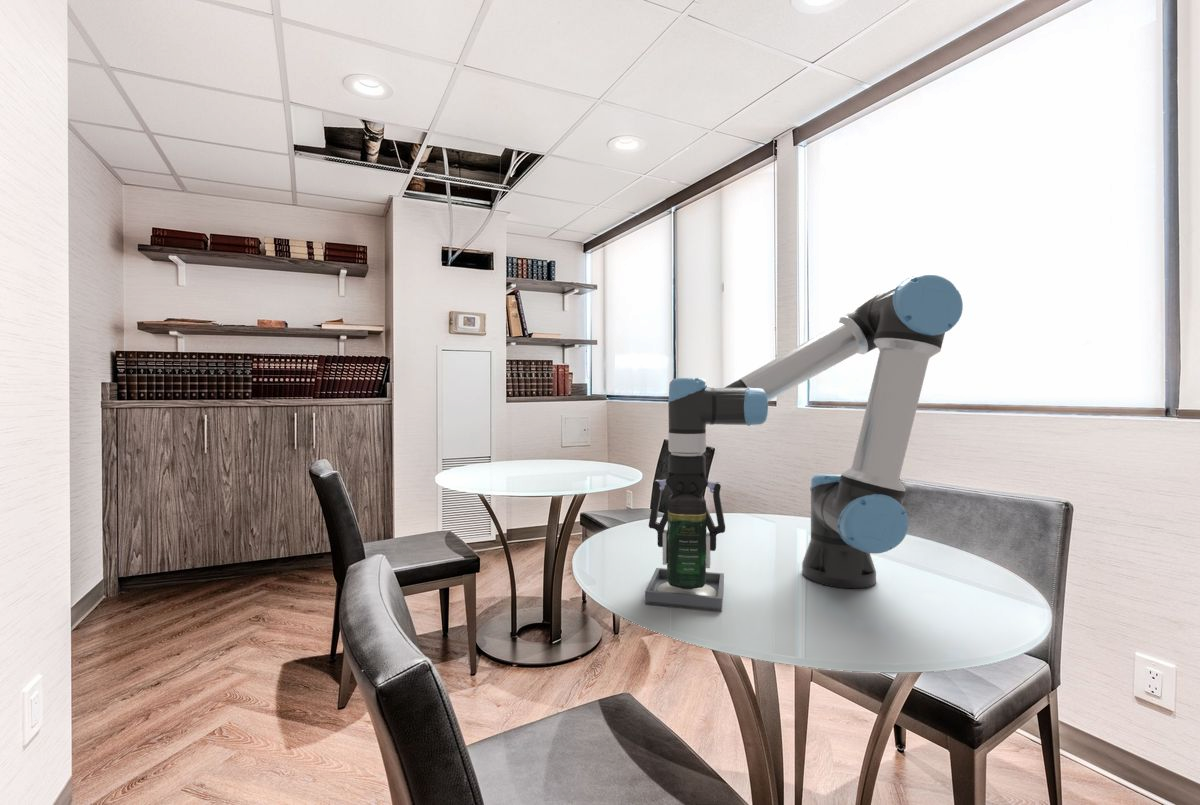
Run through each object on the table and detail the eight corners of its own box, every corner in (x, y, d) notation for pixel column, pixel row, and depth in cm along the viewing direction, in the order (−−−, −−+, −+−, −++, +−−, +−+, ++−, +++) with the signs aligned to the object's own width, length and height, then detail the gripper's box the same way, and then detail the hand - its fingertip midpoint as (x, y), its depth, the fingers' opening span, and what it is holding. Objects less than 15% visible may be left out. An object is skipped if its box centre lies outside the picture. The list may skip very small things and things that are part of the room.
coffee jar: (708, 592, 104) (708, 497, 104) (667, 590, 105) (667, 496, 104) (704, 575, 113) (704, 488, 113) (666, 573, 114) (667, 487, 114)
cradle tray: (723, 584, 114) (723, 573, 114) (721, 611, 100) (721, 598, 100) (656, 578, 118) (656, 567, 118) (645, 604, 104) (645, 591, 104)
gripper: (739, 453, 110) (739, 562, 110) (639, 450, 115) (639, 555, 115) (739, 457, 102) (739, 574, 103) (633, 454, 108) (633, 565, 108)
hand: (686, 564), depth 109 cm, fingers closed on coffee jar, 8 cm apart
